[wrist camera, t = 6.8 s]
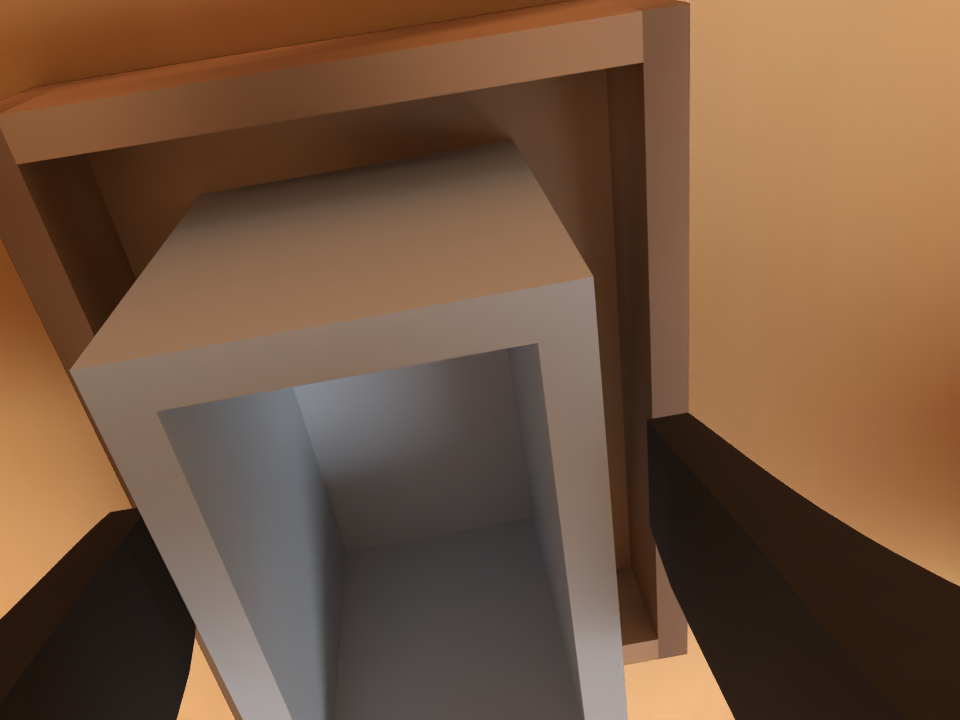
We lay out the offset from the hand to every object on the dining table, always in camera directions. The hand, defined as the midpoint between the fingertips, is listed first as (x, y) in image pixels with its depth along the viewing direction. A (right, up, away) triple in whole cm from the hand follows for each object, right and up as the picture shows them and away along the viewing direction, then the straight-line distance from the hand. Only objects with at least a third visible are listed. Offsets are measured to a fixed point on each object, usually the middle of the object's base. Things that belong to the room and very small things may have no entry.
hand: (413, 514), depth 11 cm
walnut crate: (0, +2, +3) cm, 4 cm away
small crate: (0, +2, +3) cm, 3 cm away
